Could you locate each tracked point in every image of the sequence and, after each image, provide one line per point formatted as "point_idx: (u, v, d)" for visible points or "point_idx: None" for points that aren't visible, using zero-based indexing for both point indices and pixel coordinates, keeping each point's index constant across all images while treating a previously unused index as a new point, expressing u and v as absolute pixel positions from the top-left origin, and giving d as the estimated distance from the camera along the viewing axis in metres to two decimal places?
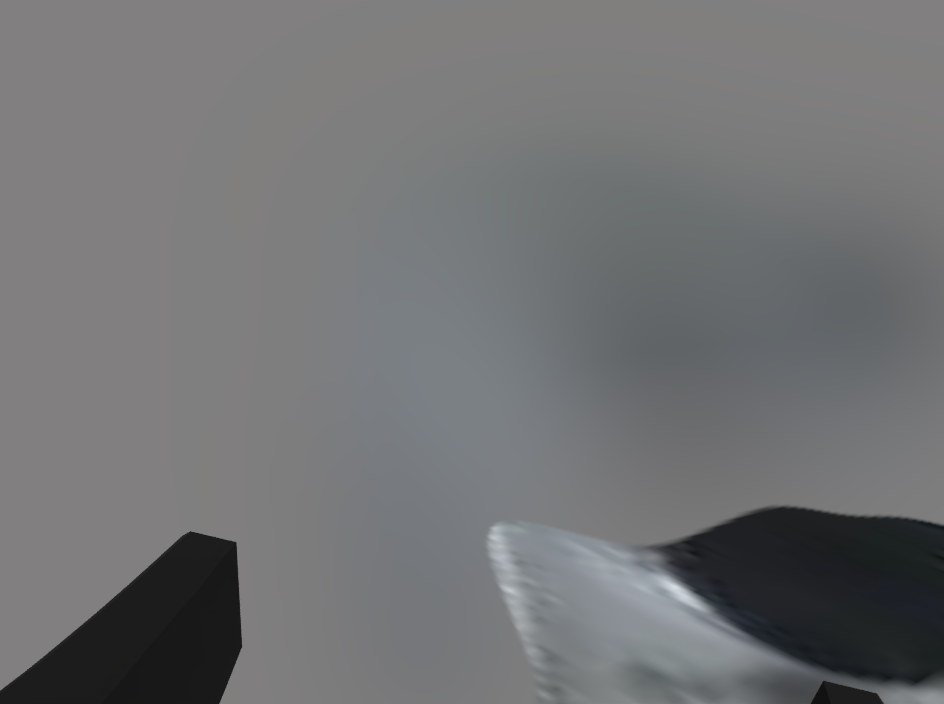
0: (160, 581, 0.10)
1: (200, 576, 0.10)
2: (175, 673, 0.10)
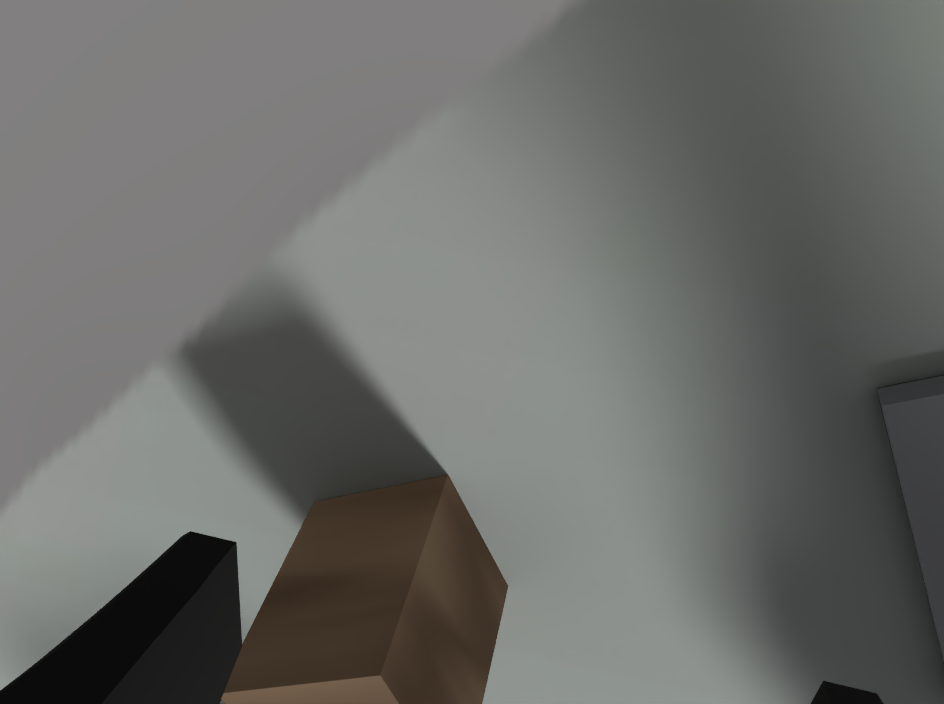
0: (160, 581, 0.10)
1: (200, 576, 0.10)
2: (175, 673, 0.10)
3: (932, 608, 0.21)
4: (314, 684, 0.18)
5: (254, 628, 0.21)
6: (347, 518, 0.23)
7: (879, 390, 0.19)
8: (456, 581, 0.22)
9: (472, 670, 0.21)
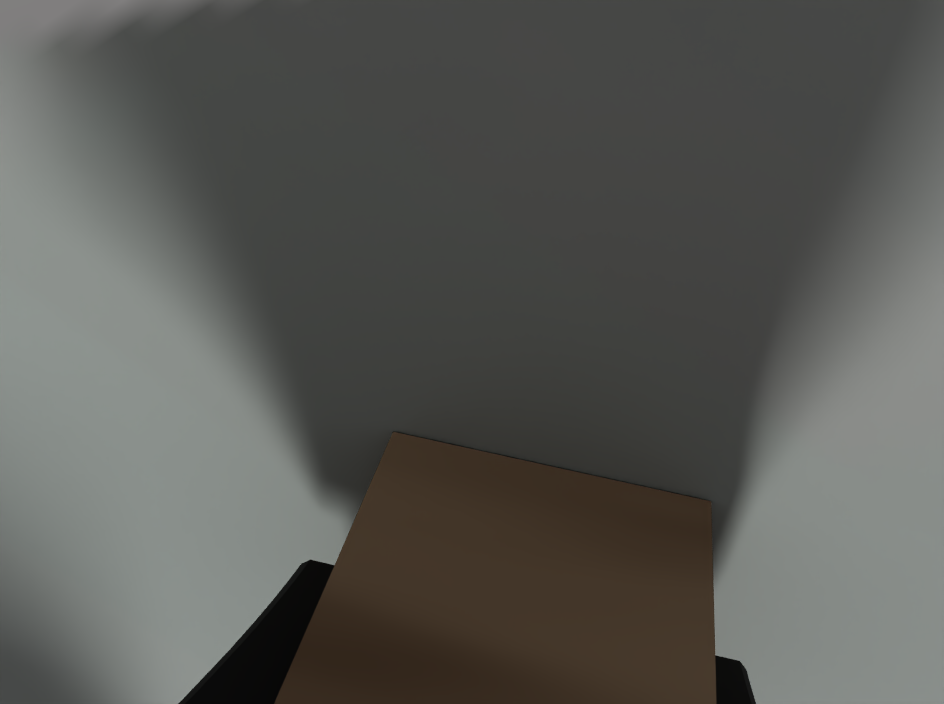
0: (292, 613, 0.10)
1: None
2: None
3: None
4: None
5: None
6: (487, 509, 0.10)
7: None
8: None
9: None
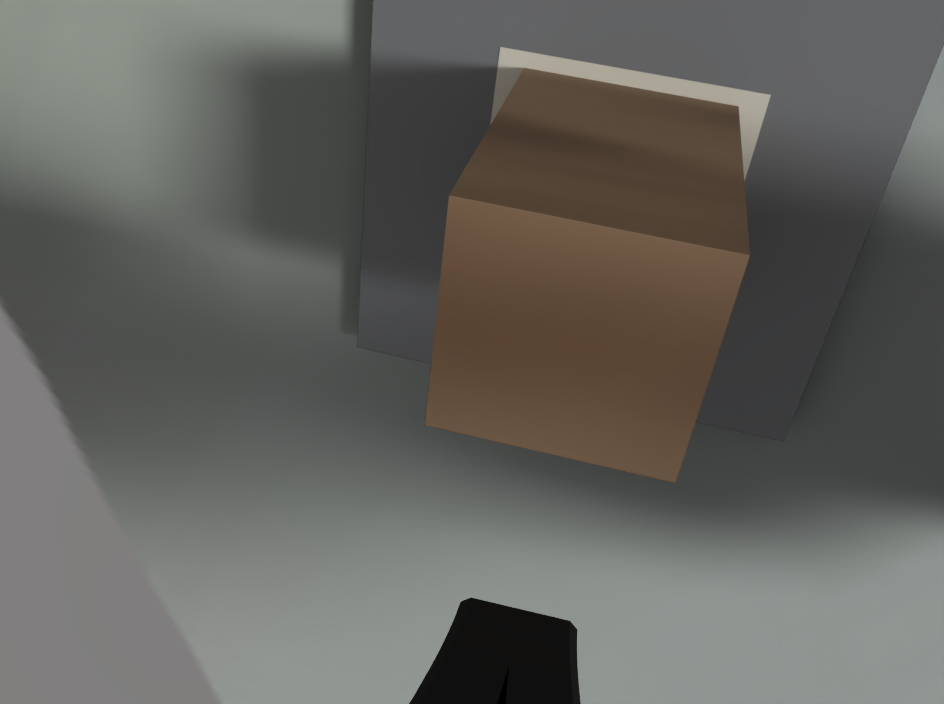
0: (469, 656, 0.10)
1: (503, 649, 0.10)
2: None
3: None
4: (627, 235, 0.12)
5: (485, 150, 0.14)
6: (592, 97, 0.16)
7: None
8: None
9: None
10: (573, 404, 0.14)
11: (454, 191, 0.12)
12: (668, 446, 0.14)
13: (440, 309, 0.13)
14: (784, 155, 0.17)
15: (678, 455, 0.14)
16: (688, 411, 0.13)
